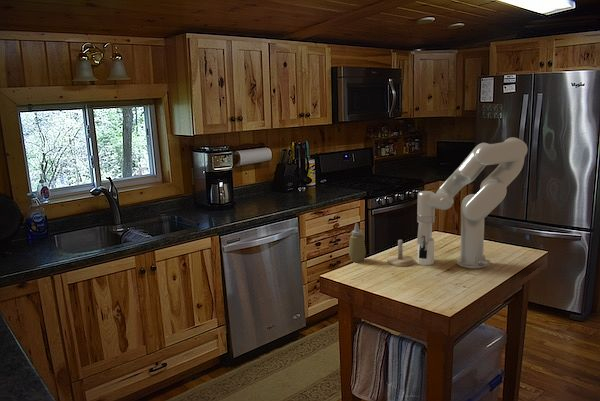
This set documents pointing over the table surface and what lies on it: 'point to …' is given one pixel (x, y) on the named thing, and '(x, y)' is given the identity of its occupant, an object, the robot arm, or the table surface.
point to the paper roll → (430, 254)
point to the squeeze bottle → (357, 245)
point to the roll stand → (400, 257)
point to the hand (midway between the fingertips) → (424, 255)
